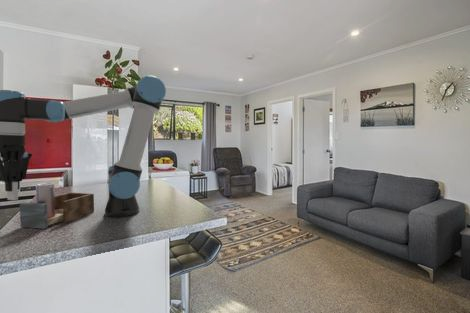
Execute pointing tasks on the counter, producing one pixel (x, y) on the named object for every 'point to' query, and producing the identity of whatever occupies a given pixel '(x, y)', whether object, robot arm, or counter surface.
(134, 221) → the counter surface
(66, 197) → the caddy
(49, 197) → the beverage can
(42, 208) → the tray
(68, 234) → the counter surface
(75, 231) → the counter surface
